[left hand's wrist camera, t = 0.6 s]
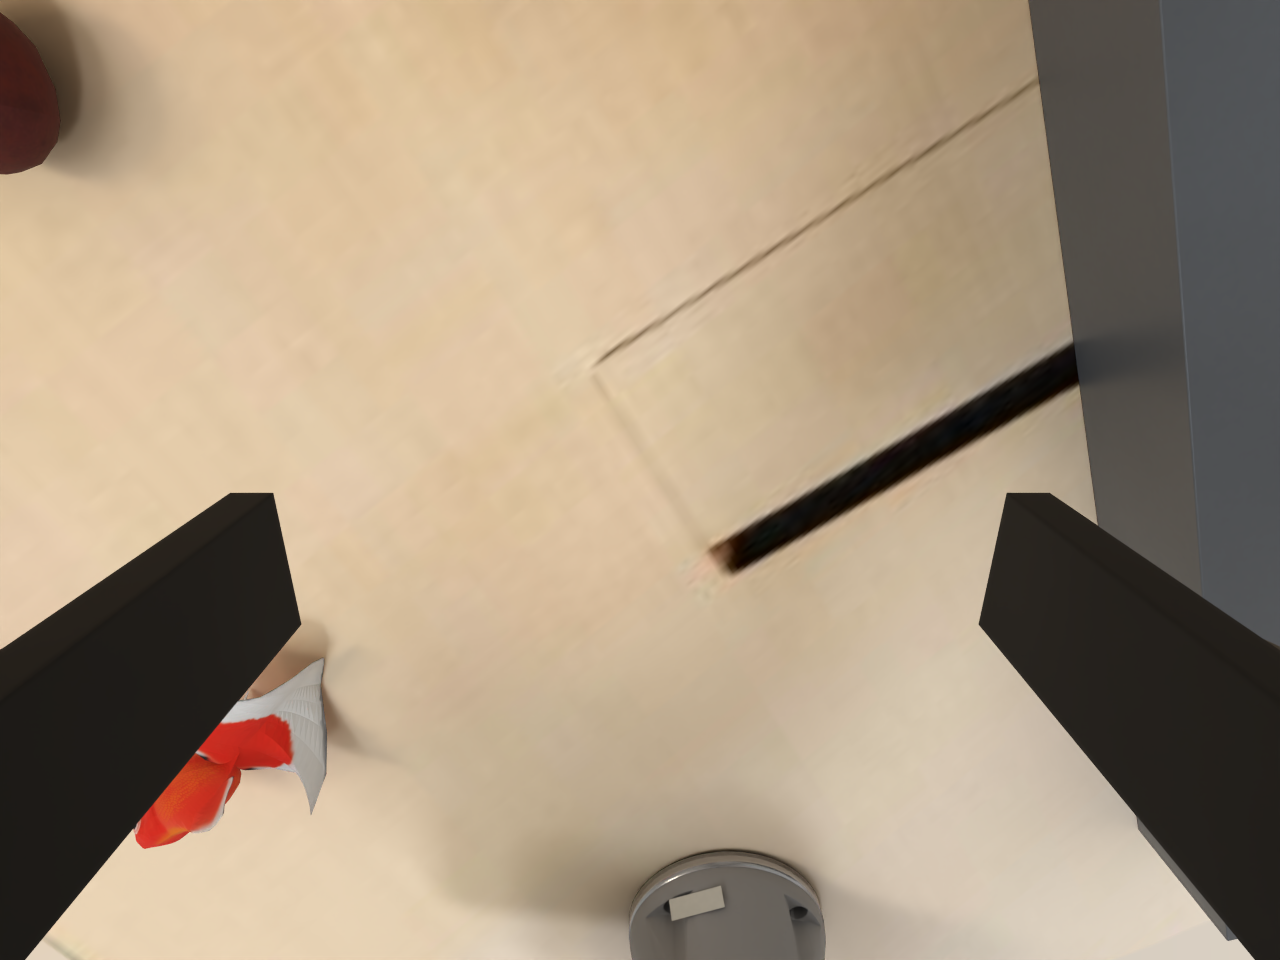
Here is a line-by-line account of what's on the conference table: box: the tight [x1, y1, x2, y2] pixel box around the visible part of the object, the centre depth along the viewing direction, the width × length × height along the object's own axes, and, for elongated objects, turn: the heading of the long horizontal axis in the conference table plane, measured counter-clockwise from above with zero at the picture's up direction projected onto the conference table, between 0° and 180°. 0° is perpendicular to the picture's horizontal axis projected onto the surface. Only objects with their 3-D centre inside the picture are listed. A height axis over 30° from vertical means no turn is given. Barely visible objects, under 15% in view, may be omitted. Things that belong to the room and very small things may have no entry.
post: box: [1029, 0, 1280, 941], centre depth 35 cm, size 67×5×8 cm, turn 20°
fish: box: [134, 658, 327, 849], centre depth 43 cm, size 11×16×10 cm
